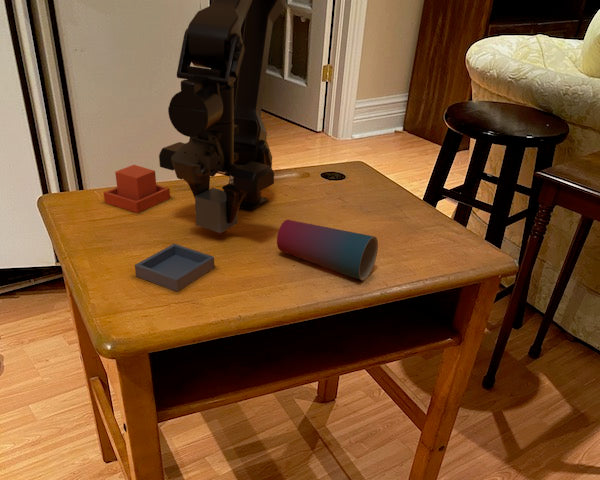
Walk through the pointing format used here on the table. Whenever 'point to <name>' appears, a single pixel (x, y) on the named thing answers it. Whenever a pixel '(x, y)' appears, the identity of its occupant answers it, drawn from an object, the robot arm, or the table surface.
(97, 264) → the table surface
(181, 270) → the blue tray
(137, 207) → the rust tray
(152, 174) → the rust block
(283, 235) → the cup
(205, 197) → the blue block
